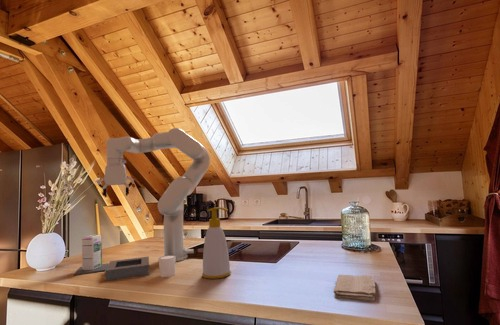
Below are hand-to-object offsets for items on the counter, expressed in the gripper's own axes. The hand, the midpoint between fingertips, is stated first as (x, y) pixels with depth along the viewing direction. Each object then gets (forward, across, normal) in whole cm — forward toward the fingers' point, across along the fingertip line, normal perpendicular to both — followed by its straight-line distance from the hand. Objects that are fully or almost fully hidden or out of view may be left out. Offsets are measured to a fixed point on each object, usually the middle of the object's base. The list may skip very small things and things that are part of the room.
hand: (116, 196), depth 144 cm
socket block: (+32, -5, +24) cm, 41 cm away
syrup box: (+32, +10, +9) cm, 35 cm away
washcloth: (+35, -72, +85) cm, 117 cm away
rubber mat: (+32, +10, +9) cm, 35 cm away
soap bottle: (+34, -37, +47) cm, 69 cm away
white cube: (+33, -20, +36) cm, 53 cm away
